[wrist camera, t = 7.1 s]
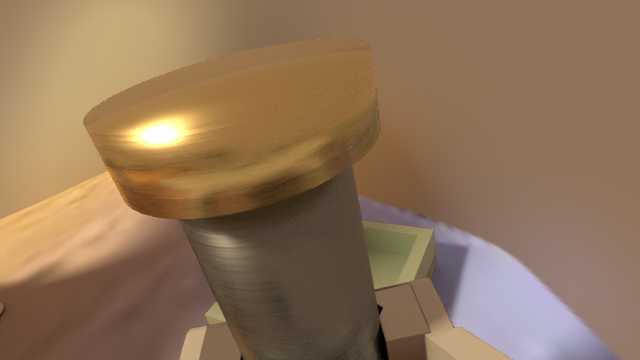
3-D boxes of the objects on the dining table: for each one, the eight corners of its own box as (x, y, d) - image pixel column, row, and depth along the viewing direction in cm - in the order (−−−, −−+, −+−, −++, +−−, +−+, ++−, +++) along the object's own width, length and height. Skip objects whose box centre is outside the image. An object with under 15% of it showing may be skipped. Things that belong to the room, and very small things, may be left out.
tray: (221, 348, 24) (204, 314, 22) (304, 241, 31) (296, 211, 30) (384, 411, 18) (375, 373, 17) (436, 264, 26) (433, 229, 25)
